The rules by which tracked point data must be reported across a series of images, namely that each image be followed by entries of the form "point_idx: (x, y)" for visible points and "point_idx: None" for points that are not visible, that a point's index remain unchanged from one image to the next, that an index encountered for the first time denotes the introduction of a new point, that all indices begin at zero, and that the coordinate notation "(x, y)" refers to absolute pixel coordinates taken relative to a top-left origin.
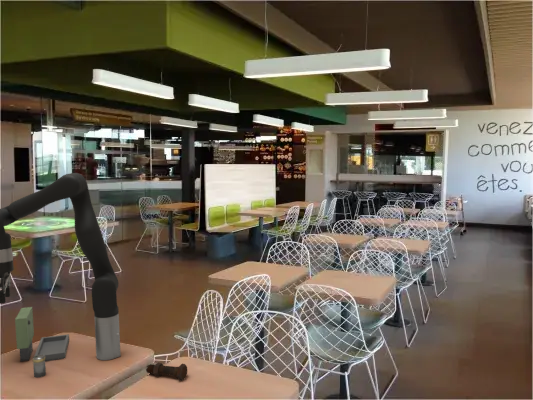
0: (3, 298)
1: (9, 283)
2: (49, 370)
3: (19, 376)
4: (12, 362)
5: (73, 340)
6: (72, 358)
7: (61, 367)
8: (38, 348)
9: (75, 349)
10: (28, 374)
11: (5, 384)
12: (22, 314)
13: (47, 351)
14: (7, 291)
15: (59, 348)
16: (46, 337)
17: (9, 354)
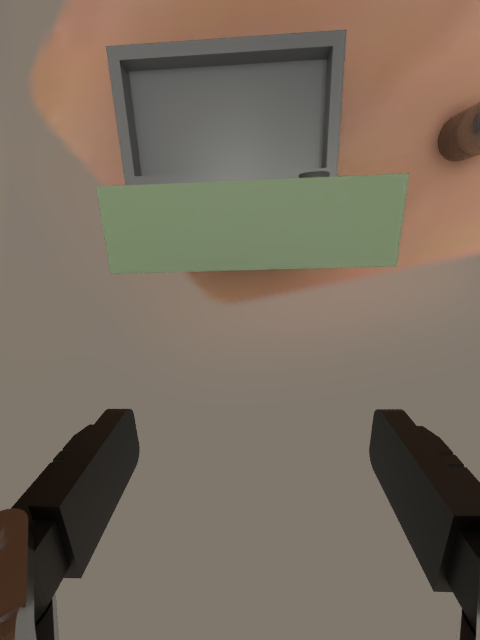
0: (458, 465)
1: (23, 629)
2: (433, 103)
3: (431, 216)
4: None
5: (131, 36)
6: (349, 6)
7: (428, 50)
8: (251, 177)
9: (246, 6)
10: (430, 186)
11: (474, 251)
12: (289, 231)
13: (246, 144)
14: (100, 477)
15: (229, 90)
16: (128, 163)
17: (217, 292)
